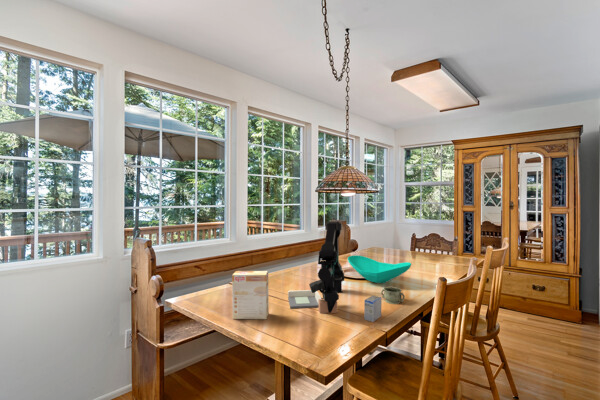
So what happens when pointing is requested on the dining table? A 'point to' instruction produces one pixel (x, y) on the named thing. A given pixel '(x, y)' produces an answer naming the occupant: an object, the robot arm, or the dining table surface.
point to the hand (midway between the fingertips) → (327, 308)
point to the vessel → (392, 295)
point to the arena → (303, 299)
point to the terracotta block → (324, 308)
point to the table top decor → (377, 268)
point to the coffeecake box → (250, 295)
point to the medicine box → (372, 308)
